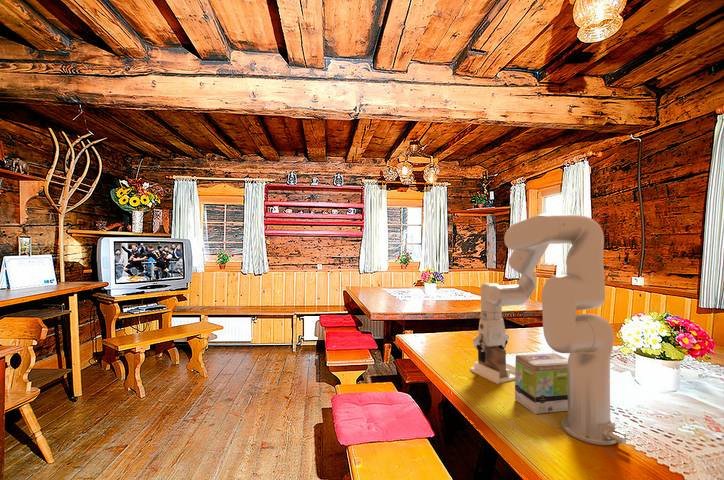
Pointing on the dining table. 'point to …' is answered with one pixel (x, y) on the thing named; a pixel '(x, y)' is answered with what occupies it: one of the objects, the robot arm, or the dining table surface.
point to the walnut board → (495, 359)
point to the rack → (494, 372)
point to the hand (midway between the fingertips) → (491, 359)
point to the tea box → (541, 382)
